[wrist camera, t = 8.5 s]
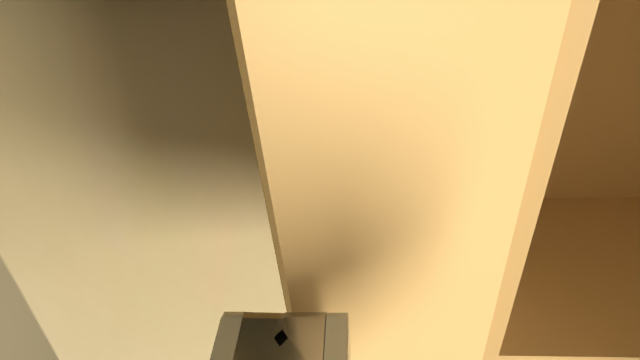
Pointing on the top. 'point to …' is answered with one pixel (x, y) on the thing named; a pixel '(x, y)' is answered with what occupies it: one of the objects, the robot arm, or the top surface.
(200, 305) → the top surface
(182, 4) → the top surface
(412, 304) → the flap
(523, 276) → the carton
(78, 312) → the top surface
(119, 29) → the top surface
